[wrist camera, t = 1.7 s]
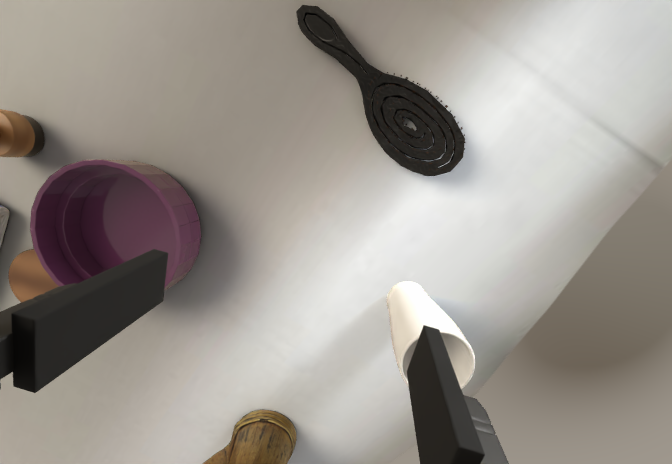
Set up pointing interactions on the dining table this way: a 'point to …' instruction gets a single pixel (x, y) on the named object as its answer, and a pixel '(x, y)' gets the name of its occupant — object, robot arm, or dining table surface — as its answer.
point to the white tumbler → (407, 322)
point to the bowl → (112, 220)
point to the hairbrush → (392, 103)
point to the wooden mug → (259, 440)
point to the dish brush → (19, 135)
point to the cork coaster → (29, 276)
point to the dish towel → (3, 221)
